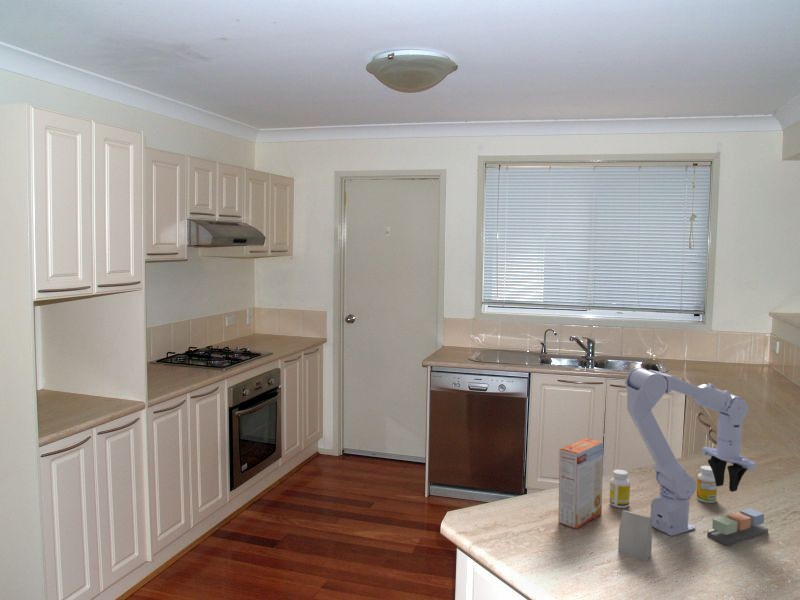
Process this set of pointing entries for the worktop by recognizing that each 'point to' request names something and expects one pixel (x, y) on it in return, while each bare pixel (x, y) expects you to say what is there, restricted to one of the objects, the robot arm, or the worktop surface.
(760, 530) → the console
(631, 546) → the grey rectangular block
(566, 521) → the cracker box
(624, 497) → the supplement bottle
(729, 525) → the sage key
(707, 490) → the supplement bottle
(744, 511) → the light blue square block
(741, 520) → the terracotta key
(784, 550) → the worktop surface
